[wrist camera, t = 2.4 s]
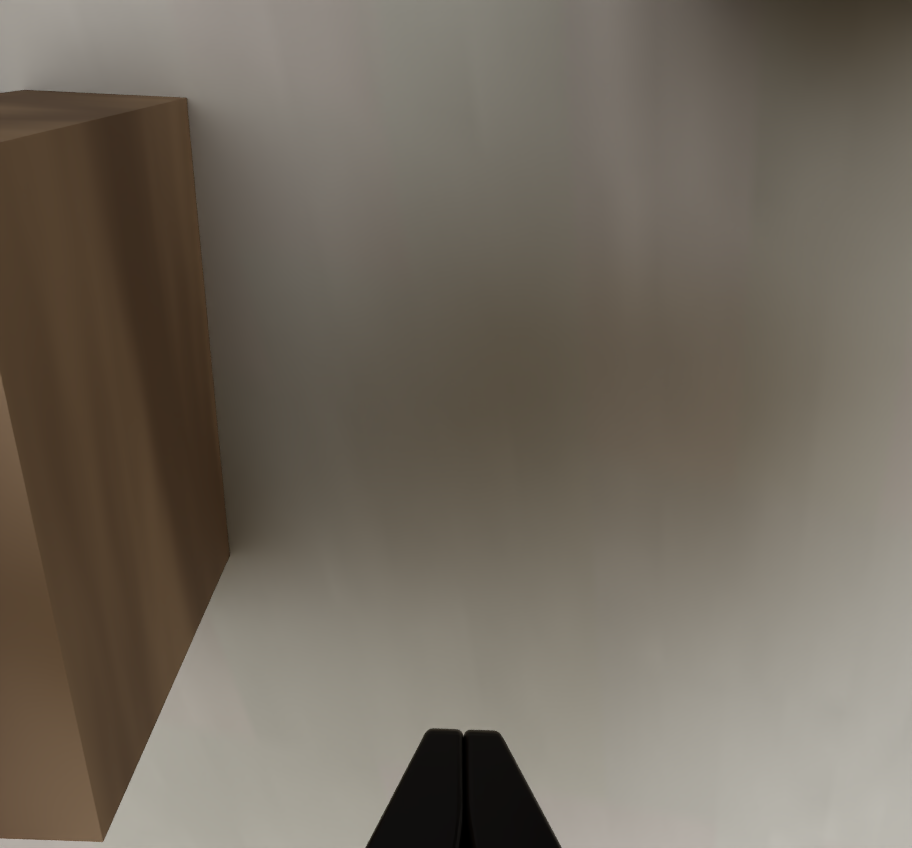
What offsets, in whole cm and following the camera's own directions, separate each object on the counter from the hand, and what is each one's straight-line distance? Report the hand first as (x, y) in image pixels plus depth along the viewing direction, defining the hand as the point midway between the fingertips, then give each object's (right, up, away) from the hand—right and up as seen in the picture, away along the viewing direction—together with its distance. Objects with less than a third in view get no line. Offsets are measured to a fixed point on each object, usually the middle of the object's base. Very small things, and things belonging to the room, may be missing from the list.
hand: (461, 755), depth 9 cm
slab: (-8, +6, +11) cm, 15 cm away
